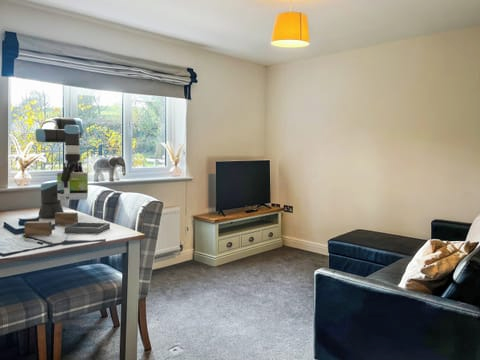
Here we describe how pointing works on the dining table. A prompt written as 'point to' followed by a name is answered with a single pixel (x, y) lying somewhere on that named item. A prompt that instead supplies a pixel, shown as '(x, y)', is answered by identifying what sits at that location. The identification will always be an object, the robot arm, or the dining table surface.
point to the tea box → (73, 186)
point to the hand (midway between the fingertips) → (73, 192)
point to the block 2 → (66, 218)
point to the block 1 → (38, 228)
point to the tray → (87, 227)
